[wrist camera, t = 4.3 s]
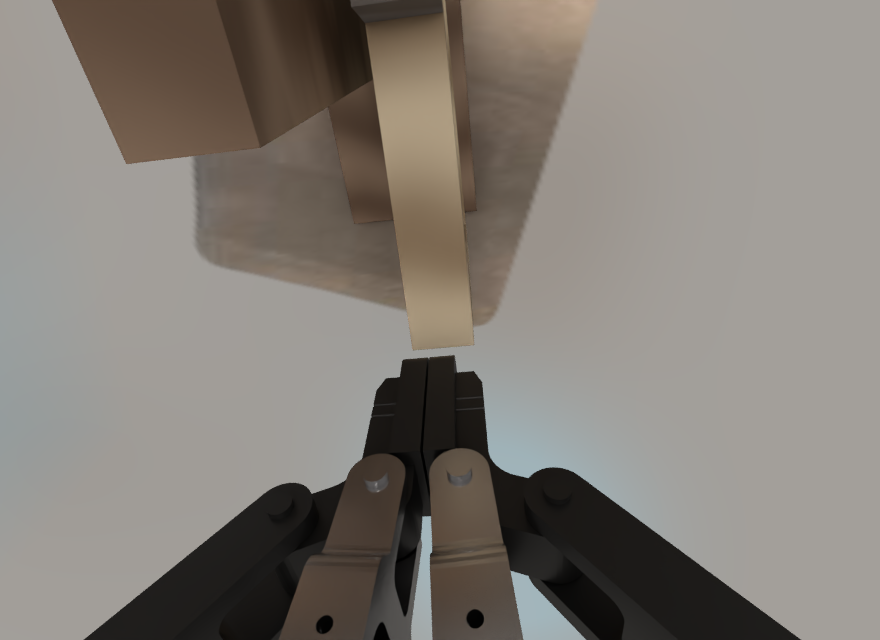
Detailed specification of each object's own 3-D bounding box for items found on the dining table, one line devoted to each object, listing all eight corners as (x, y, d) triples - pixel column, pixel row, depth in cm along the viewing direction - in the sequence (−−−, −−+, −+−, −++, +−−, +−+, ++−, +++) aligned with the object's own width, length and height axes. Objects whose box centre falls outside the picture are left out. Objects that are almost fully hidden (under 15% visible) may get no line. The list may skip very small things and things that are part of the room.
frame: (382, -176, 25) (229, -787, 9) (428, -184, 25) (363, -826, 8) (433, 256, 34) (407, 373, 17) (468, 253, 34) (475, 367, 17)
